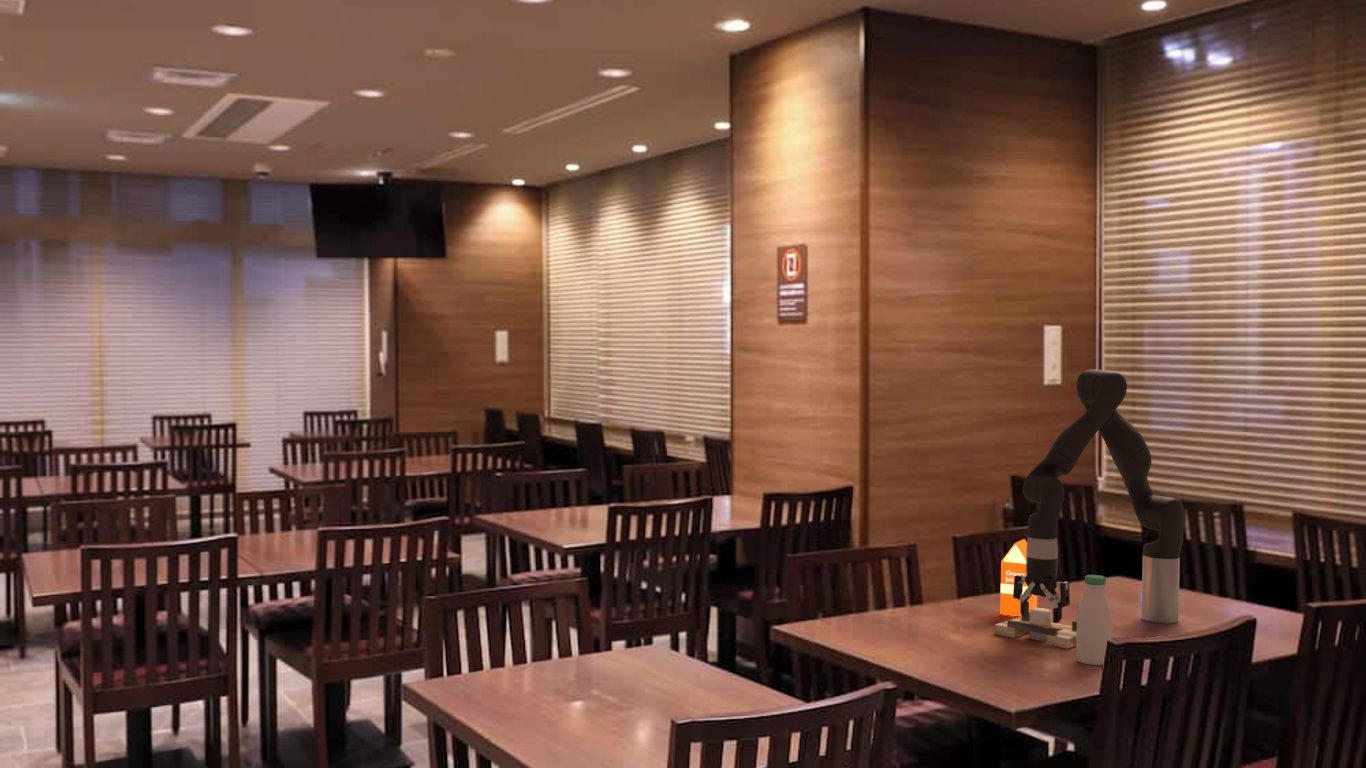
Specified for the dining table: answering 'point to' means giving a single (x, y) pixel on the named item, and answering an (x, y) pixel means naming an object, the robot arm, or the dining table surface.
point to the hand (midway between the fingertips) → (1040, 619)
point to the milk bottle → (1093, 622)
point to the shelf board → (1040, 631)
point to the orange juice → (1009, 569)
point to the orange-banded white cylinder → (1040, 621)
